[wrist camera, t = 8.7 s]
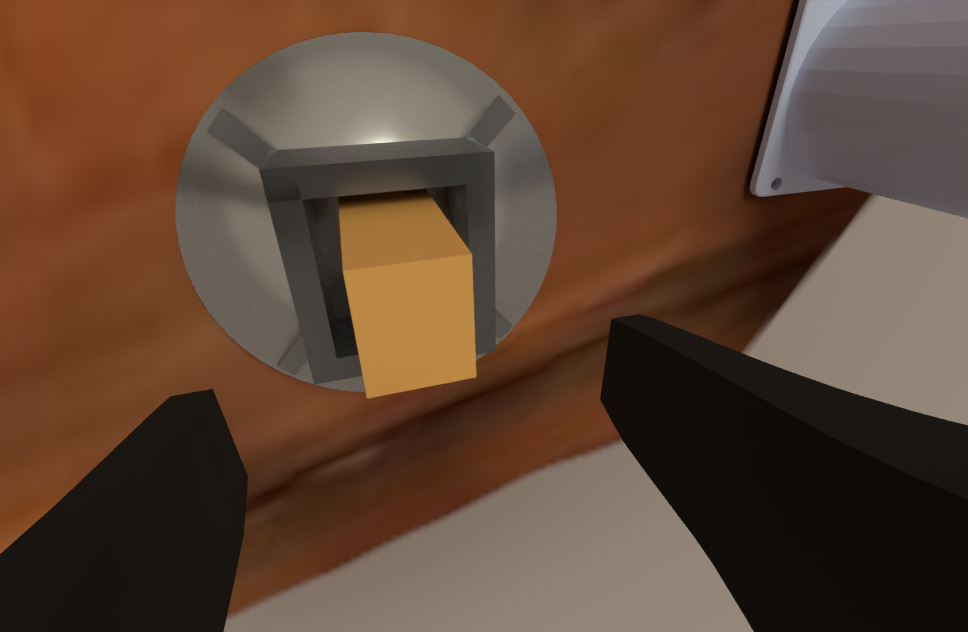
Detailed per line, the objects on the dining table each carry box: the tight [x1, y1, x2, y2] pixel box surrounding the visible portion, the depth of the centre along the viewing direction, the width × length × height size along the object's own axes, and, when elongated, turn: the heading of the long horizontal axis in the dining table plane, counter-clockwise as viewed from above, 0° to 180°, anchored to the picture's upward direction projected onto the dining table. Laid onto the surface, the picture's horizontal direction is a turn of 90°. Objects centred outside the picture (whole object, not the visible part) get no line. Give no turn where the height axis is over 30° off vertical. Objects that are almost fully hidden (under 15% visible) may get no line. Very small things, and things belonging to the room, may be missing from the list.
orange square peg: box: [338, 188, 476, 399], centre depth 13 cm, size 3×3×6 cm
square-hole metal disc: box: [175, 32, 556, 392], centre depth 15 cm, size 12×12×4 cm
